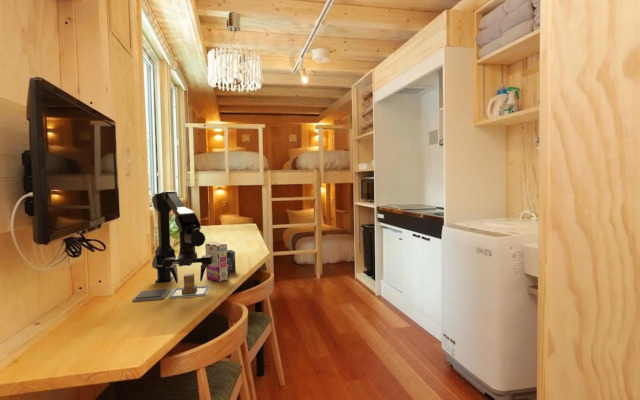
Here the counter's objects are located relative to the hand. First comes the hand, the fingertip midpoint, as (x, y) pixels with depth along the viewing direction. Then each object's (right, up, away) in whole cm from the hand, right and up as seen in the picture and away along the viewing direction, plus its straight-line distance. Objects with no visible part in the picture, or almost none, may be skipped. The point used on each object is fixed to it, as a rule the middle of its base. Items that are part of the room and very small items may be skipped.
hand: (189, 282), depth 146 cm
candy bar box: (+6, -3, +19) cm, 21 cm away
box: (+7, -3, +31) cm, 32 cm away
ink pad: (-13, -5, -3) cm, 15 cm away
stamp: (0, -4, 0) cm, 4 cm away
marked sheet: (0, -4, 0) cm, 4 cm away
